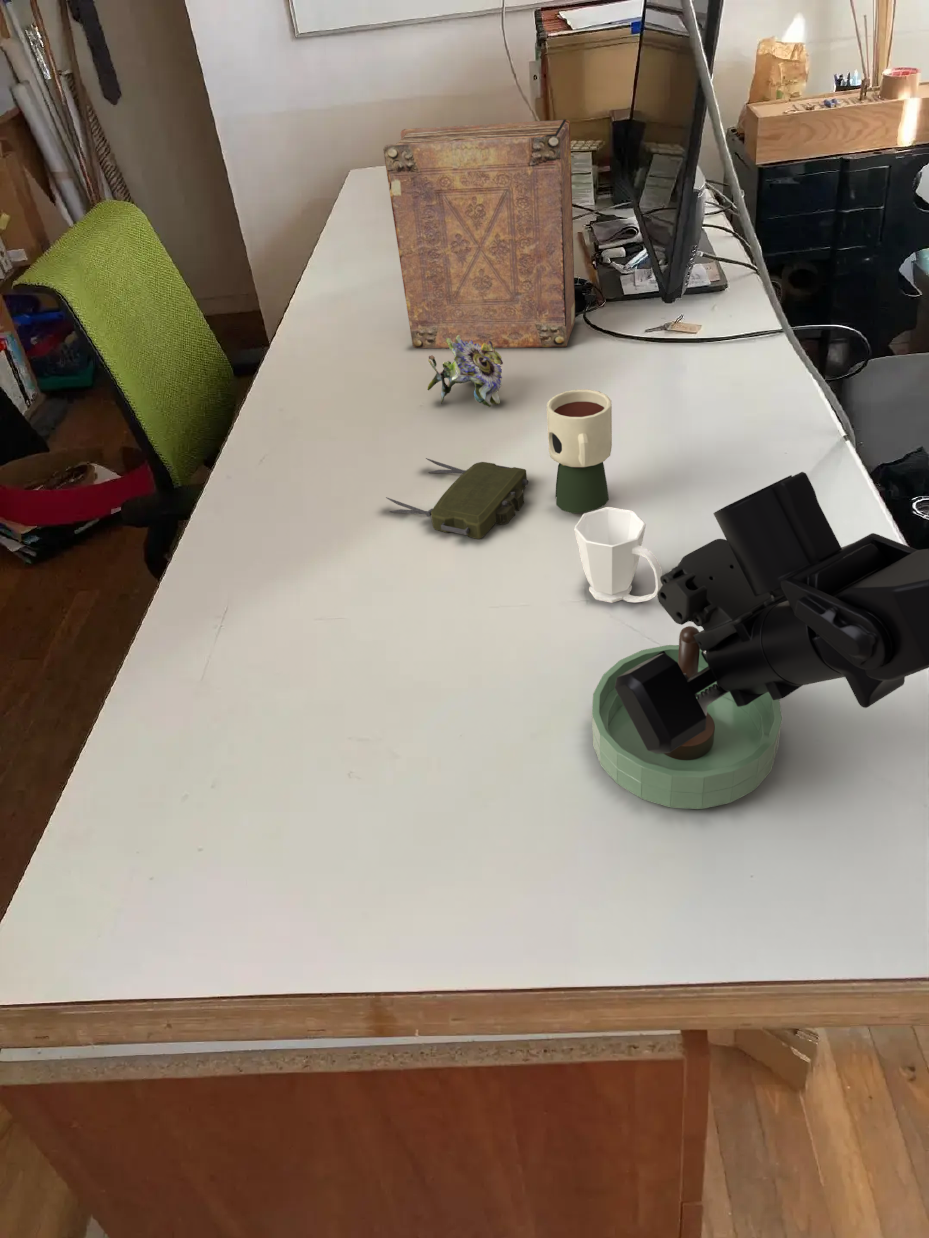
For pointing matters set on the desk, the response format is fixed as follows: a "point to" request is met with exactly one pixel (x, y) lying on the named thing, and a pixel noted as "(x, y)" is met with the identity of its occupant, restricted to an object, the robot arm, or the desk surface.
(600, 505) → the character mug
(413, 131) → the book
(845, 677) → the robot arm
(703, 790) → the bowl
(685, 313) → the desk surface
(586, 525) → the cup
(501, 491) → the landmine
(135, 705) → the desk surface
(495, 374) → the passion flower
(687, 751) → the knob-topped peg stand
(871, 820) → the desk surface
